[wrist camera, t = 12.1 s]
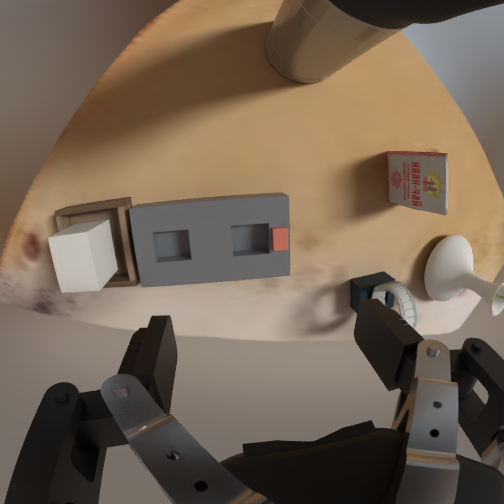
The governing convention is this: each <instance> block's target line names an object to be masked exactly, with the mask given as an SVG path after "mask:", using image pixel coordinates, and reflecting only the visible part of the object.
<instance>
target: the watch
mask: <svg viewBox="0 0 504 504" xmlns="http://www.w3.org/2000/svg"><path fill="white" fill-rule="evenodd" d="M394 296H395V298H396V299H397V303H398V306H400V307H399V312H400V314H401V316H402V317H403V319H404V320H406V321H407V322H408V323H409V325H411V326H412V327H413V328H414V329H415V330H416V329H417V327H416V323H417V311H416V305H415V302H414V299H413V297H412V295H411V293H410V291H409V290H408V289H407V287H406V286H405V285H403V284H402V282H398V281H395V279H394V278H392V277H391V276H390V275H388V274H387V273H386V272H379V273H375V274H371V275H367V276H362V277H358V278H354V279H351V303H350V306H351V307H352V309H353V310H354V311H355V312H356V313H357V312H358V306H359V303H360V301H361V300H367V299H374V298H377V299H379V300H380V301H381V302H382V303H383V304H384V305H385V306H386V307H388V308H392V307H393V302H394ZM406 301H407V302H406ZM403 302H404V303H403ZM411 302H412V303H411ZM410 308H411V309H410ZM407 309H408V310H407ZM404 310H405V311H404Z"/></svg>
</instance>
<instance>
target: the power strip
mask: <svg viewBox="0 0 504 504" xmlns="http://www.w3.org/2000/svg"><path fill="white" fill-rule="evenodd" d="M129 212H130V220H131V227H132V234H133V241H134V247H135V253H136V259H137V265H138V270H139V275H140V280H141V285H142V287H154V286H169V285H184V284H197V283H210V282H223V281H235V280H246V279H258V278H269V277H279V276H290V223H289V196H288V195H286V194H284V193H263V194H246V195H231V196H217V197H205V198H194V199H183V200H173V201H164V202H154V203H146V204H138V205H136V206H134V207H132V208H130V209H129Z"/></svg>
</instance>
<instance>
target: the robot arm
mask: <svg viewBox="0 0 504 504" xmlns="http://www.w3.org/2000/svg"><path fill="white" fill-rule="evenodd" d="M503 3H504V0H283V3H282V5H281V7H280V9H279V11H278V14H277V16H276V18H275V20H274V23H273V25H272V27H271V29H270V32H269V34H268V36H267V39H266V43H265V52H266V55H267V58H268V60H269V62H270V64H271V65H272V66H273V67H274V69H275V70H276V71H277V72H279V73H280V74H281V75H282V76H284V77H286V78H288V79H290V80H293V81H296V82H299V83H316V82H320V81H323V80H325V79H327V78H328V77H329V76H331V75H332V74H334V73H335V72H336V71H338V70H340V69H341V68H342V67H344V66H345V65H347V64H348V63H350V62H351V61H353V60H354V59H356V58H357V57H359V56H360V55H362V54H363V53H365V52H366V51H368V50H370V49H371V48H373V47H374V46H376V45H378V44H379V43H381V42H382V41H384V40H386V39H387V38H389V37H390V36H392V35H394V34H395V33H397V32H399V31H401V30H402V29H404V28H406V27H408V26H409V25H411V24H413V23H420V24H429V23H430V24H431V23H438V22H442V21H445V20H448V19H451V18H454V17H457V16H459V15H463V14H466V13H469V12H473V11H476V10H480V9H483V8H487V7H491V6H495V5H499V4H503ZM354 337H355V341H356V343H357V345H358V346H359V348H360V349H361V351H362V352H363V353H364V355H365V356H366V358H367V359H368V361H369V362H370V364H371V365H372V367H373V368H374V370H375V371H376V373H377V374H378V376H379V377H380V379H381V380H382V382H383V383H384V385H385V386H386V388H387V389H388V391H391V390H395V389H398V388H400V390H401V392H400V394H399V397H398V401H397V405H396V410H395V414H394V418H393V422H392V426H391V429H388V428H375V426H374V424H373V422H372V421H371V420H370V421H367V422H363V423H360V424H356V425H352V426H348V427H344V428H341V429H340V430H338V431H335V432H333V433H331V434H329V435H327V436H325V437H322V438H320V439H318V440H315V441H310V442H307V441H306V442H305V441H304V442H303V441H280V440H275V441H267V442H258V443H247V444H243V453H240V454H237V455H234V456H232V457H229V458H228V459H225V460H223V461H221V462H220V463H219V462H218V461H217V460H216V459H215V458H214V457H213V456H212V455H211V454H210V453H209V452H208V451H207V450H205V448H203V447H202V446H201V445H200V444H199V442H197V441H196V439H195V438H193V436H192V435H191V434H190V433H189V432H188V431H187V430H186V429H185V428H184V427H183V426H182V425H181V424H180V423H179V422H178V420H177V419H176V418H175V417H174V416H173V415H171V414H169V413H170V406H171V398H172V391H173V384H174V378H175V371H176V365H177V346H176V341H175V336H174V331H173V325H172V320H171V317H170V315H165V316H152V317H151V319H150V322H149V324H148V327H147V328H140V329H139V330H138V331H136V332H135V333H134V334H133V336H132V338H131V340H130V343H129V345H128V348H127V352H126V353H125V355H124V358H123V360H122V363H121V366H120V368H119V371H118V373H117V375H114V376H112V377H110V378H108V379H107V380H106V381H105V382H104V383H103V384H102V386H101V389H100V390H96V391H90V392H84V393H79V391H78V389H77V388H76V386H75V385H73V384H71V383H66V382H62V383H57V384H55V385H53V386H51V387H50V388H49V389H48V390H47V391H46V393H45V394H44V396H43V399H42V401H41V403H40V405H39V407H38V410H37V412H36V414H35V416H34V419H33V421H32V424H31V426H30V428H29V431H28V433H27V436H26V438H25V441H24V443H23V446H22V449H21V451H20V454H19V457H18V460H17V463H16V465H15V469H14V471H13V475H12V478H11V481H10V484H9V488H8V492H7V495H6V499H5V503H4V504H98V501H99V493H100V487H101V480H102V473H103V467H104V461H105V455H106V450H107V447H113V446H119V445H126V444H129V445H130V447H131V449H132V450H133V451H134V453H135V455H136V456H137V457H138V459H139V460H140V462H141V463H142V465H143V466H144V467H145V469H146V470H147V472H148V473H149V474H150V476H151V477H152V478H153V479H154V481H155V482H156V483H157V485H158V486H159V487H160V489H161V490H162V491H163V492H164V494H165V495H166V496H167V497H168V499H169V500H170V501H171V502H172V503H173V504H504V360H503V359H502V358H501V357H500V356H499V355H498V354H497V353H496V352H495V351H494V350H493V349H492V348H491V347H490V346H489V345H488V344H487V343H486V342H484V341H483V340H481V339H478V338H468V339H466V340H465V341H464V344H463V346H462V349H459V350H449V349H448V348H447V346H446V345H445V344H443V343H442V342H439V341H437V340H431V339H428V340H424V339H423V338H422V336H421V335H420V334H419V333H418V332H417V331H416V330H415V329H414V328H413V327H412V326H411V325H409V323H408V322H407V321H406V320H404V319H403V317H402V316H401V315H400V314H398V313H397V312H396V311H394V310H392V309H390V308H388V307H386V306H385V305H384V304H383V303H382V302H381V301H380V300H379V299H377V298H374V299H367V300H361V301H360V303H359V306H358V312H357V318H356V323H355V329H354ZM477 380H479V381H480V382H481V383H482V385H483V386H484V387H485V388H486V390H487V391H488V394H489V398H488V401H487V403H486V405H485V404H484V403H483V402H482V400H481V399H480V398H479V397H478V395H477V394H476V393H475V392H474V390H473V387H474V385H475V384H476V382H477ZM458 423H459V424H460V426H461V428H462V429H463V431H464V432H465V434H466V435H467V437H468V438H469V440H470V441H471V443H472V445H473V446H474V448H475V449H476V451H477V452H478V454H479V456H480V458H481V463H480V462H478V461H475V460H471V459H469V458H466V457H463V456H461V455H458V454H456V449H457V434H458Z"/></svg>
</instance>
